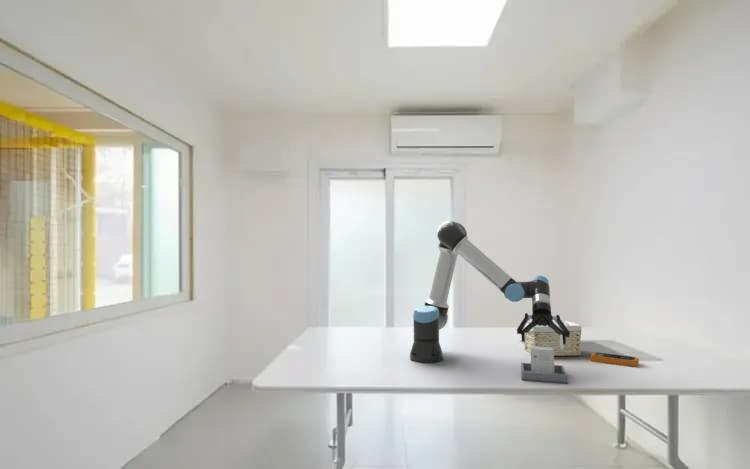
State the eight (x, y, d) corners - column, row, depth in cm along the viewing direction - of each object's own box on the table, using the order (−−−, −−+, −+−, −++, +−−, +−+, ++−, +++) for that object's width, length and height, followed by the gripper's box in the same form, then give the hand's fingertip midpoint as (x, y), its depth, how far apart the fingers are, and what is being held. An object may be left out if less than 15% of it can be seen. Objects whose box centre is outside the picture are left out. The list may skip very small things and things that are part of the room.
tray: (521, 380, 165) (521, 372, 165) (521, 370, 179) (520, 362, 179) (567, 383, 160) (567, 375, 160) (562, 373, 174) (562, 365, 174)
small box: (554, 374, 170) (554, 347, 170) (552, 378, 165) (552, 350, 166) (533, 371, 174) (532, 345, 174) (530, 375, 169) (530, 348, 170)
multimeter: (636, 368, 182) (636, 360, 182) (590, 362, 193) (590, 354, 194) (639, 364, 189) (639, 356, 189) (594, 358, 200) (594, 351, 200)
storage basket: (532, 357, 202) (532, 325, 202) (521, 349, 218) (520, 320, 219) (584, 357, 202) (583, 325, 202) (568, 349, 218) (567, 320, 219)
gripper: (572, 313, 186) (577, 356, 171) (511, 310, 193) (511, 351, 179) (573, 302, 181) (578, 346, 166) (511, 300, 189) (510, 341, 174)
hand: (543, 349), depth 172 cm, fingers open, 13 cm apart
